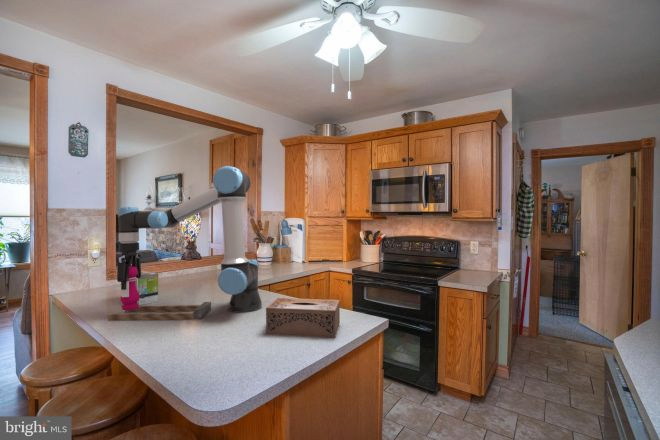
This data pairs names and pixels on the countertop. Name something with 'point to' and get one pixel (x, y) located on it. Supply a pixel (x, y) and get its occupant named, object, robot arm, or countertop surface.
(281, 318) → the tissue box cover
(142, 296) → the tea box
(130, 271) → the pepper mill
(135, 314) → the guide track
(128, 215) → the robot arm
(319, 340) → the countertop surface
